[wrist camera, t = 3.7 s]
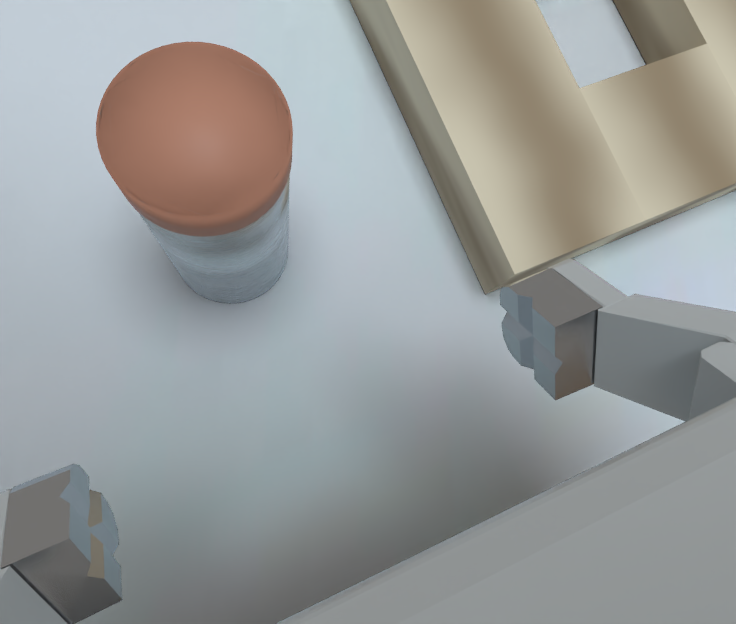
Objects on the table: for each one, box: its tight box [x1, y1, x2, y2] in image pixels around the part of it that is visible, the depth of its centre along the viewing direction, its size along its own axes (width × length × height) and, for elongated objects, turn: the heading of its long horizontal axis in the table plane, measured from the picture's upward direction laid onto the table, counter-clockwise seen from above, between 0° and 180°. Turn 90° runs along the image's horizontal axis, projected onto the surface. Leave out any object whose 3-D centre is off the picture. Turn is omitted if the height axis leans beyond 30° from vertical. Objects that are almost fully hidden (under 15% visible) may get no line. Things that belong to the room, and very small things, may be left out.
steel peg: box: [96, 42, 293, 303], centre depth 18 cm, size 4×4×9 cm
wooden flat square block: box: [350, 0, 736, 294], centre depth 24 cm, size 16×16×3 cm
